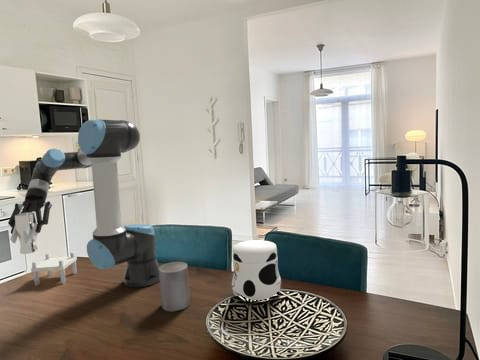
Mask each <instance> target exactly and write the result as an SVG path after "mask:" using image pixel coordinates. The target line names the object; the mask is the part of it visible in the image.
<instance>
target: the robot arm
mask: <svg viewBox="0 0 480 360" xmlns="http://www.w3.org/2000/svg"><path fill="white" fill-rule="evenodd" d="M140 138H141V135H140V131H139V129H138V128H137V126H136V125H135V124H133V123H132V122H131V121H127V120H125V119H123V120H122V119H119V120H118V119H117V120H116V119H114V120H113V119H98V118H97V119H89V120H86V121H85V122H84V123H82V125H81V126H80V127H79V129H78V134H77V145H78V147H79V149H80V150H78V151H73V152H72V151H71V152H64V151H62V150H60V149H57V148H50V149H48V150H47V151H46V152H45V153H44V154H43V156H42V158H41V160H39V161H37V162H36V164H35V166H34V167H33V171H32V175H31V179H30V182H29V184H28V188H27V191H26V194H25V197H24V200H23V202H22V203H18V202H17V203H15V204H14V209H13V211H12V213H11V216H10V218H9V220H8V222H7V224H8V225H9V226H10V227H11V230H10V234H11V236H10V239H9V240H10V241H11V242H12V244H16V243H17V241H18V235H17V232H16V227H15V215H17V214H21V213H29V212H33V213H35V219H36V223H35V226H34V228H33V231H32V235H31V239H32V240H33V242H35V241H36V240H37V237H38V234H40V233H41V230H42V226H44V225H45V226H46V225H48V224H49V220H50V219H49V218H50V211H51V208H52V207H53V204H52V203H51V202H50V201H48V200H47V196H48V193H49V188H50V186H51V182H52V179H53V177H54V175H56V174H57V172H58V171H67V170H77V169H88V168H91V169H92V170H91V171H92V183H93V196H94V197H93V198H94V210H95V223H96V224H95V225H96V228H95V229H94V230H93V231H92V239H90V240H89V241H88V242H87V244H86V254H87V257H88V259H89V261H90V262H91V263H92V265H93V266H94V267H96V268H97V269H100V270H107V269H111V268H114V267H116V266H119V265H121V264H124V263H126V267H125V272H124V275H123V283H124V285H125V286H126V287H130V288H143V287H149V286H152V285H154V284H157V283H158V282H159V283H160V278H159V267H160V265H159V262H158V260H157V251H156V234H155V230H154V226H153V225H150V224H145V223H144V224H143V223H133V224H126V225H124V226H123V225H122V217H121V204H120V203H121V201H120V186H119V172H118V161H119V160H120V159H121V157H122V153H123V154H124V153H127V152H129V151H132V150H133V149H135V148H136V147H138V145H139V143H140V140H141V139H140ZM46 200H47V202H46ZM42 208H43V214H42V210H41V209H42Z"/></svg>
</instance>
